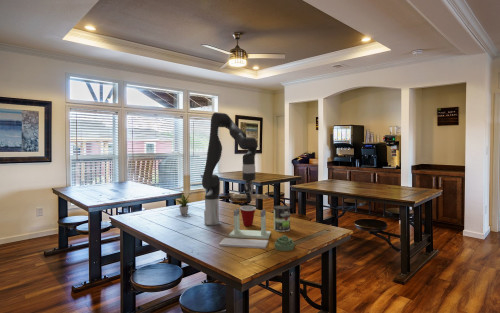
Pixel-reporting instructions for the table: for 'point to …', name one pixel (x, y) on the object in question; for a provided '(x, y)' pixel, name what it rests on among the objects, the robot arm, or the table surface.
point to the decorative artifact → (284, 243)
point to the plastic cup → (247, 214)
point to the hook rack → (250, 233)
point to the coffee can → (281, 218)
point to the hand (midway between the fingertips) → (249, 201)
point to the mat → (244, 243)
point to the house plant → (183, 204)
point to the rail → (254, 196)
